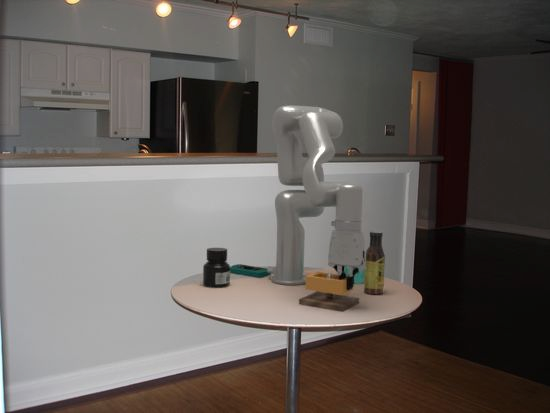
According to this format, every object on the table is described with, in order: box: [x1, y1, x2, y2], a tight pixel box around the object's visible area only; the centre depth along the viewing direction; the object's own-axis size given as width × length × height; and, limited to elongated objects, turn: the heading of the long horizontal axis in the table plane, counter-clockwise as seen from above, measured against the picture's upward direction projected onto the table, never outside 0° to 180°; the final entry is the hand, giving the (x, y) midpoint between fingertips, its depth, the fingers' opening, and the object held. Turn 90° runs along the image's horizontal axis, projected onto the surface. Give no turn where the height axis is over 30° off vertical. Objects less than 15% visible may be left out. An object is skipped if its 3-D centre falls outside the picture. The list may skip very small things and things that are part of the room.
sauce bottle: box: [363, 230, 386, 295], centre depth 193 cm, size 6×6×20 cm
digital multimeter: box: [230, 263, 272, 279], centre depth 218 cm, size 7×15×3 cm, turn 56°
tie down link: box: [305, 271, 355, 296], centre depth 179 cm, size 12×8×4 cm, turn 60°
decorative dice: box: [345, 258, 366, 285], centre depth 210 cm, size 8×8×8 cm
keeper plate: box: [298, 273, 360, 313], centre depth 179 cm, size 14×12×9 cm
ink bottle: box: [202, 247, 231, 288], centre depth 199 cm, size 10×9×12 cm
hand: (346, 288), depth 176 cm, fingers closed on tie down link, 1 cm apart
